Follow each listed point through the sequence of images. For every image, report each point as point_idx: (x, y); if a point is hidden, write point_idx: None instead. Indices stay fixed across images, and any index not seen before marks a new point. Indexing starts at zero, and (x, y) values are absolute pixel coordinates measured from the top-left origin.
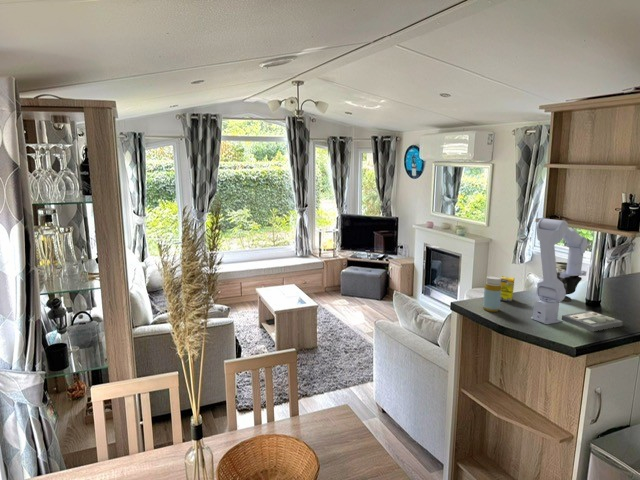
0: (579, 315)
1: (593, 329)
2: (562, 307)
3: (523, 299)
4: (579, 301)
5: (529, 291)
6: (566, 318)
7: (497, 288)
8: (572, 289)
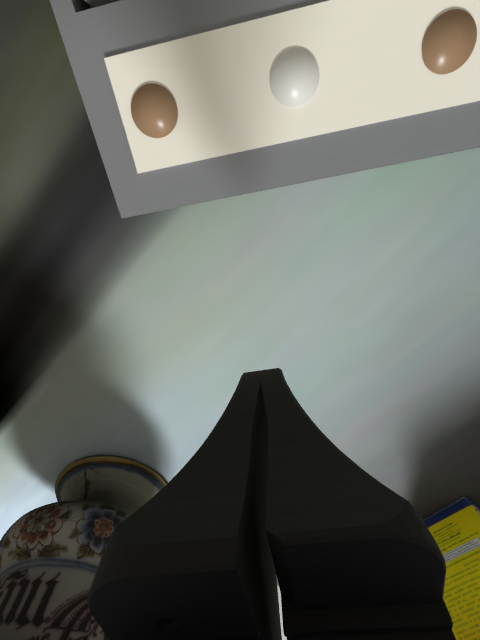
0: (352, 94)
1: None
2: (220, 381)
3: None
4: (26, 447)
5: None
6: None
7: None
8: (291, 392)
